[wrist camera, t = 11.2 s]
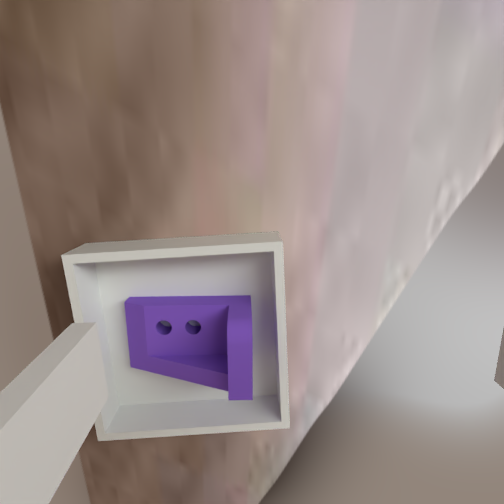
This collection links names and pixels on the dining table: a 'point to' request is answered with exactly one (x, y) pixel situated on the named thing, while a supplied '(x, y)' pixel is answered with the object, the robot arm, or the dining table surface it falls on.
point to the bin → (190, 284)
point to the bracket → (194, 340)
